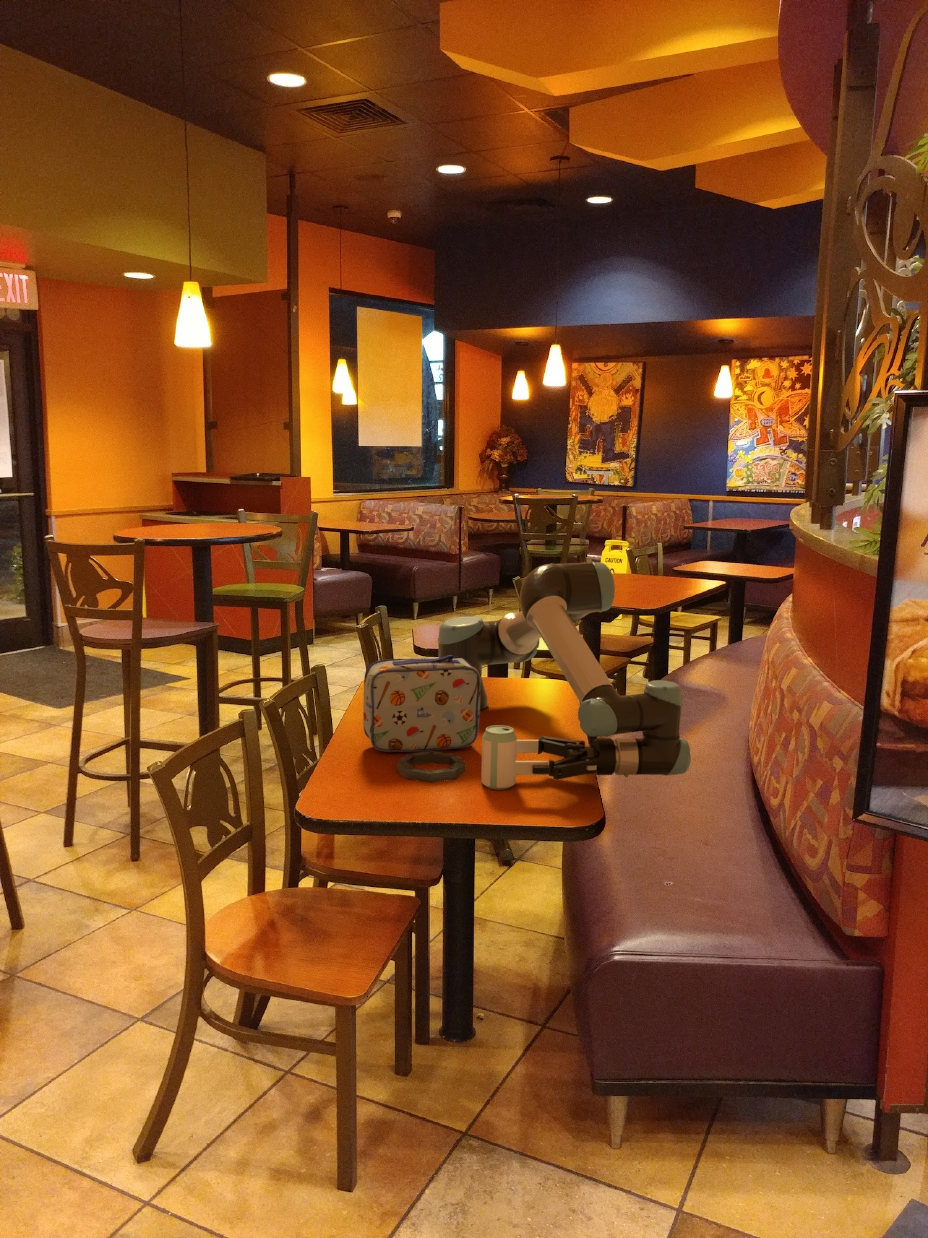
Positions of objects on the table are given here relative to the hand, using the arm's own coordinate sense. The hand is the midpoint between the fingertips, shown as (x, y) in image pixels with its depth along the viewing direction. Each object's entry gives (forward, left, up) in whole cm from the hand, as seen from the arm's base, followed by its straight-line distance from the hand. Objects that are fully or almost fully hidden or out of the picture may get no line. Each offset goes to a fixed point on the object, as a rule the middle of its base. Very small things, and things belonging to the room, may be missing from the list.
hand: (511, 756), depth 197 cm
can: (0, -2, -7) cm, 7 cm away
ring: (-2, -18, -6) cm, 20 cm away
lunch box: (-16, -26, -7) cm, 31 cm away
